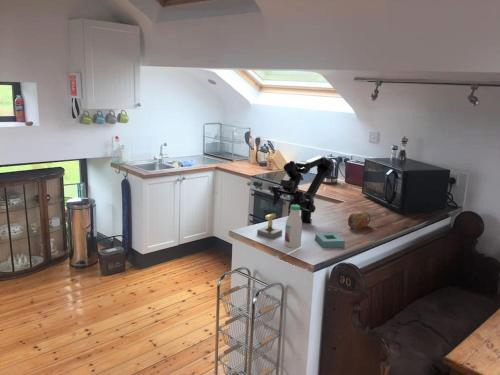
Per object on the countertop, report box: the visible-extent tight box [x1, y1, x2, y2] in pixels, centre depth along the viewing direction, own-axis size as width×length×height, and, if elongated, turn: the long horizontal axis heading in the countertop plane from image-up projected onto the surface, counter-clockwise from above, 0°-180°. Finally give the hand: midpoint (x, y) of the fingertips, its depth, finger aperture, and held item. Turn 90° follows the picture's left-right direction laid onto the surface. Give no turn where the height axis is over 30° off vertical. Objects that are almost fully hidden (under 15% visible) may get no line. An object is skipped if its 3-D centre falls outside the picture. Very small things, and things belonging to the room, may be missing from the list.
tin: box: [347, 211, 371, 230], centre depth 237 cm, size 15×3×8 cm, turn 122°
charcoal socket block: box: [256, 225, 283, 240], centre depth 218 cm, size 9×9×3 cm
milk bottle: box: [284, 205, 303, 249], centre depth 204 cm, size 8×8×20 cm
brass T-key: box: [265, 212, 277, 232], centre depth 217 cm, size 6×2×10 cm, turn 142°
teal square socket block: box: [314, 232, 346, 248], centre depth 212 cm, size 11×11×3 cm
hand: (281, 207), depth 221 cm, fingers open, 9 cm apart
